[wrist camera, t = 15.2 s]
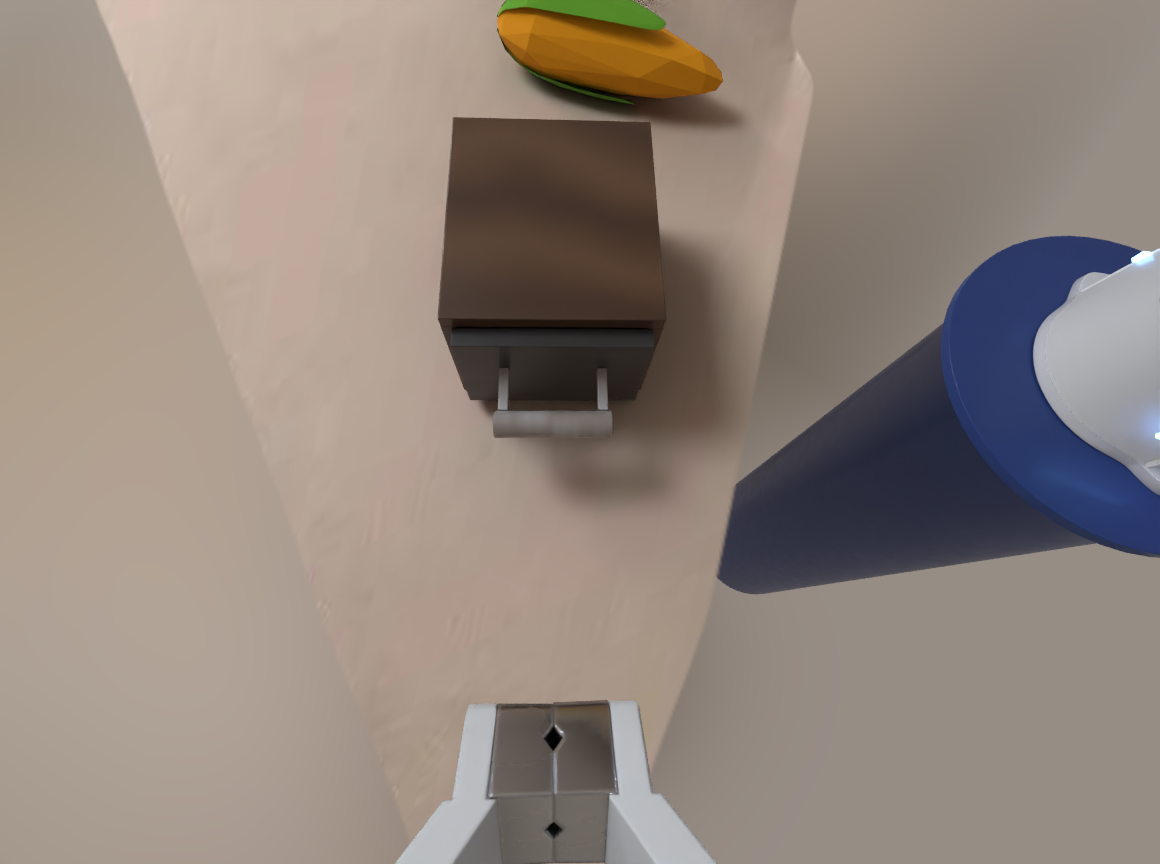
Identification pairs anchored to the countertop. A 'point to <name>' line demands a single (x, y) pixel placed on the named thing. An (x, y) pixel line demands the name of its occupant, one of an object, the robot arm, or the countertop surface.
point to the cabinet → (551, 227)
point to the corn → (604, 49)
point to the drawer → (552, 374)
